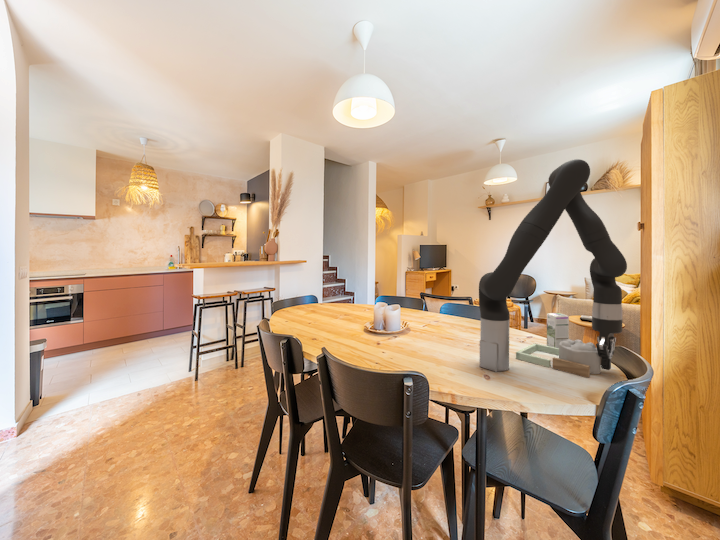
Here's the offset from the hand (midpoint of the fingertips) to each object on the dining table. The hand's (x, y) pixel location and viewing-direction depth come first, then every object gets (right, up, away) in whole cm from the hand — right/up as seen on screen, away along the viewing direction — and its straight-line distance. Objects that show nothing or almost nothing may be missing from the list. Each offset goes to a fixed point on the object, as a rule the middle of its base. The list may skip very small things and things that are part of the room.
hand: (606, 368), depth 94 cm
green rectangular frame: (-12, -1, +16) cm, 20 cm away
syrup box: (+1, -1, +25) cm, 25 cm away
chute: (-4, -1, +6) cm, 8 cm away
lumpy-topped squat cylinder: (-5, -1, +6) cm, 8 cm away
